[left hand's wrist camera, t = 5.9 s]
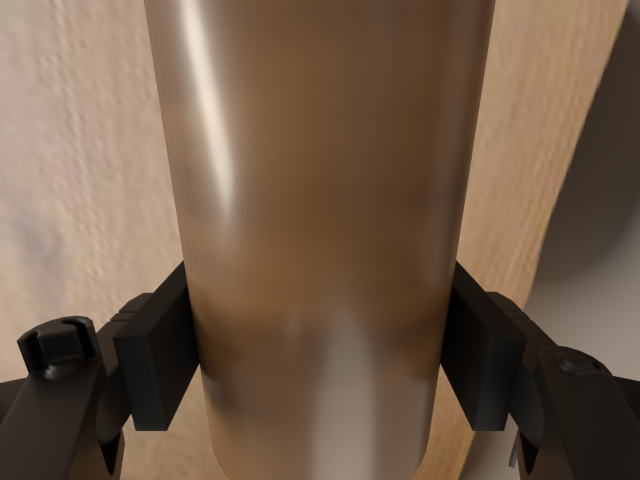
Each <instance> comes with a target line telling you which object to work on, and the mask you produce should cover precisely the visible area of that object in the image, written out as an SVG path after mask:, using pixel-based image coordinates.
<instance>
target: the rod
mask: <svg viewBox="0 0 640 480" xmlns="http://www.w3.org/2000/svg"><path fill="white" fill-rule="evenodd" d="M495 1H496V0H144V3H145V10H146V17H147V23H148V30H149V36H150V43H151V49H152V56H153V62H154V69H155V75H156V82H157V88H158V95H159V101H160V108H161V114H162V121H163V128H164V134H165V141H166V147H167V154H168V160H169V167H170V173H171V180H172V186H173V193H174V199H175V206H176V212H177V219H178V225H179V232H180V239H181V245H182V252H183V258H184V265H185V271H186V278H187V284H188V291H189V297H190V304H191V310H192V317H193V323H194V330H195V336H196V343H197V349H198V356H199V363H200V369H201V376H202V382H203V389H204V395H205V402H206V408H207V415H208V421H209V428H210V434H211V440H212V445H213V449H214V452H215V455H216V457H217V460H218V462H219V464H220V466H221V468H222V469H223V471H224V472H225V474H226V476H227V477H228V478H229V479H230V480H410V479H411V478H412V477H413V475H414V474H415V472H416V470H417V469H418V467H419V466H420V464H421V462H422V459H423V457H424V454H425V452H426V448H427V444H428V439H429V433H430V426H431V420H432V413H433V407H434V400H435V394H436V387H437V380H438V374H439V367H440V361H441V354H442V348H443V341H444V335H445V328H446V322H447V315H448V308H449V302H450V295H451V289H452V282H453V276H454V269H455V263H456V256H457V250H458V243H459V236H460V230H461V223H462V217H463V210H464V204H465V197H466V191H467V184H468V178H469V171H470V164H471V158H472V151H473V145H474V138H475V132H476V125H477V119H478V112H479V106H480V99H481V92H482V86H483V79H484V73H485V66H486V60H487V53H488V47H489V40H490V34H491V27H492V20H493V14H494V7H495Z"/></svg>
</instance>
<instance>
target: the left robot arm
mask: <svg viewBox="0 0 640 480" xmlns="http://www.w3.org/2000/svg"><path fill="white" fill-rule="evenodd" d="M17 343H18V346H19V348H20V351H21V354H22V356H23V359H24V362H25V364H26V367H27V370H28V372H29V374H28V376H27V378H22V379H18V380H13V381H8V382H3V383H0V480H120V474H121V467H122V460H123V453H124V447H125V440H124V434H123V430H122V427H123V426H124V424H125V422H126V421H127V419H128V418H129V416H130V415H131V414H132V418H133V422H134V426H135V429H136V431H167V430H168V427H169V425H170V423H171V421H172V419H173V417H174V415H175V413H176V411H177V409H178V407H179V405H180V402H181V400H182V398H183V396H184V394H185V392H186V390H187V388H188V386H189V384H190V382H191V380H192V377H193V375H194V373H195V371H196V369H197V367H198V365H199V356H198V349H197V343H196V336H195V330H194V323H193V317H192V310H191V304H190V297H189V291H188V284H187V278H186V271H185V265H184V260H183V261H182V262H181V263H180V265H179V266H178V267H177V268H176V269H175V270H174V271H173V272H172V273H171V274H170V275H169V276H168V278H167V279H166V280H165V281H164V282H163V283H162V284H161V285H160V286H159V287H158V288H157V289H156V291H155V292H154V293H143V294H141V295H139V296H137V297H135V298H134V299H132V300H130V301H128V302H127V303H126V304H125V305H124V306H123V307H122V308H121V309H120V310H119V313H116V314H115V315H114V316H113V317H112V318H111V319H110V322H107V323H106V324H105V325H104V326H103V327H102V328H101V329H100V330H99V331H98V332H97V333H96V332H95V329H94V325H93V321H92V320H90V319H89V318H88V317H83V316H70V317H63V318H59V319H55V320H51V321H48V322H46V323H43V324H41V325H38V326H36V327H34V328H33V329H31V330H29V331H28V332H26V333H24V334H23V335H22V336H21V337H20V338H19V339H18V340H17ZM440 363H441V365H442V368H443V370H444V372H445V374H446V376H447V378H448V380H449V382H450V384H451V386H452V388H453V390H454V393H455V395H456V397H457V399H458V401H459V403H460V405H461V407H462V409H463V411H464V413H465V415H466V418H467V420H468V422H469V424H470V426H471V428H472V430H473V431H504V428H505V424H506V421H507V417H508V413H510V415H511V416H512V418H513V419H514V421H515V423H516V424H517V426H518V431H517V434H516V438H515V441H514V445H513V449H512V452H511V456H510V461H509V466H510V467H513V468H514V466H515V463H516V460H517V459H518V466H519V473H520V479H521V480H640V381H635V380H630V379H626V378H621V377H616V376H612V374H611V372H610V371H609V370H608V369H607V368H606V367H605V365H604V364H602V363H601V362H599V361H598V360H596V359H595V358H594V357H592V356H590V355H588V354H585V353H583V352H581V351H579V350H575V349H572V348H568V347H563V346H558V345H557V344H556V343H555V342H554V341H553V340H552V339H551V338H550V337H548V336H547V335H546V334H545V333H544V332H543V331H542V330H541V329H540V328H539V327H538V326H537V325H536V324H535V323H534V322H533V321H532V320H530V318H529V317H528V316H527V315H526V314H525V313H524V312H522V311H521V309H520V308H519V307H518V306H517V305H516V304H515V303H514V302H513V301H512V300H510V299H508V298H507V297H505V296H503V295H501V294H499V293H498V292H485V291H484V290H483V289H482V288H481V286H480V285H479V284H478V283H477V282H476V281H475V280H474V279H473V278H472V277H471V276H470V275H469V273H468V272H467V271H466V270H465V269H464V268H463V267H462V266H461V265H460V264H459V263H458V262H457V260H456V263H455V269H454V276H453V282H452V289H451V295H450V302H449V308H448V315H447V322H446V328H445V335H444V341H443V348H442V354H441V361H440Z"/></svg>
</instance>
